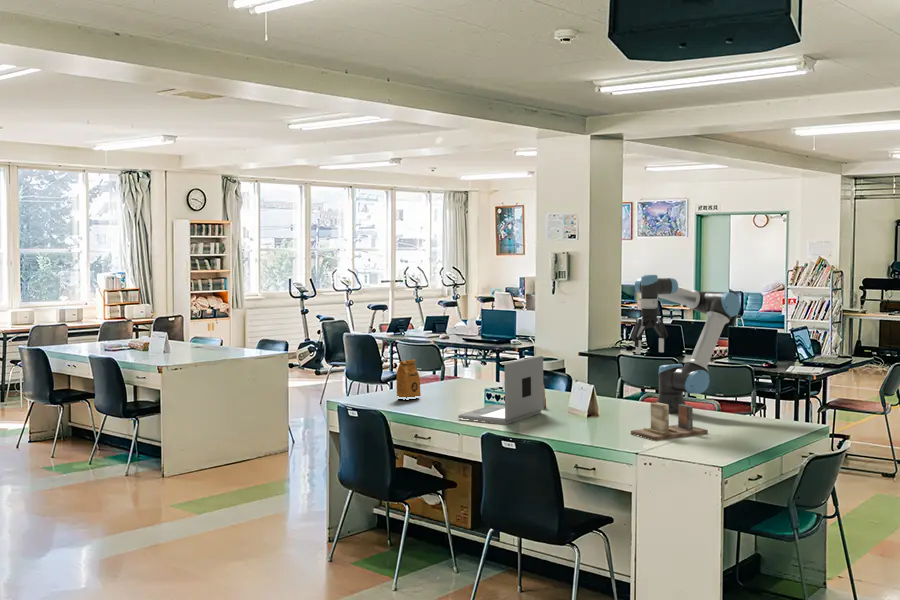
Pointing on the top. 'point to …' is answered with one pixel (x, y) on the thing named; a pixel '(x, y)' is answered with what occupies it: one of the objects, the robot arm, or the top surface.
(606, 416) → the top surface
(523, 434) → the top surface
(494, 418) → the laptop
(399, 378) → the coffee package
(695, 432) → the rail
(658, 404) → the maple finger
